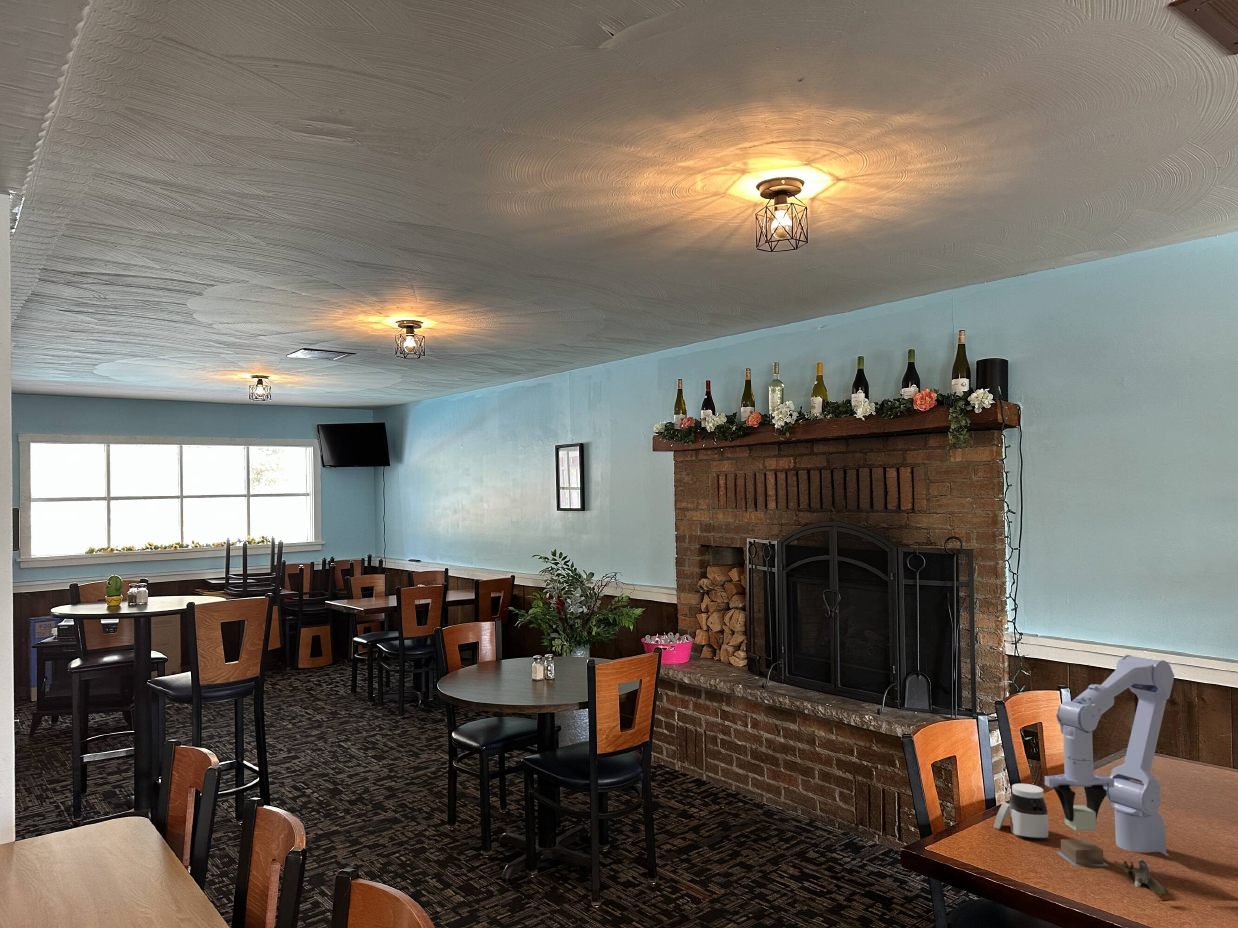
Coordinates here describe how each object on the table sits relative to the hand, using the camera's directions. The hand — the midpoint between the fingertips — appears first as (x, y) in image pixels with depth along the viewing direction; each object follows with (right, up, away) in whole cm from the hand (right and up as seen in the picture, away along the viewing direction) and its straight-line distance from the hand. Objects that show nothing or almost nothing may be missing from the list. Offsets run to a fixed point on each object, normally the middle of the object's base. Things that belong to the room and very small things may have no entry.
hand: (1080, 819), depth 183 cm
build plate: (0, -9, +1) cm, 10 cm away
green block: (0, -2, 0) cm, 2 cm away
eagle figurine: (+5, -9, -14) cm, 18 cm away
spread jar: (-6, -11, +15) cm, 20 cm away
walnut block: (0, -8, -1) cm, 8 cm away
